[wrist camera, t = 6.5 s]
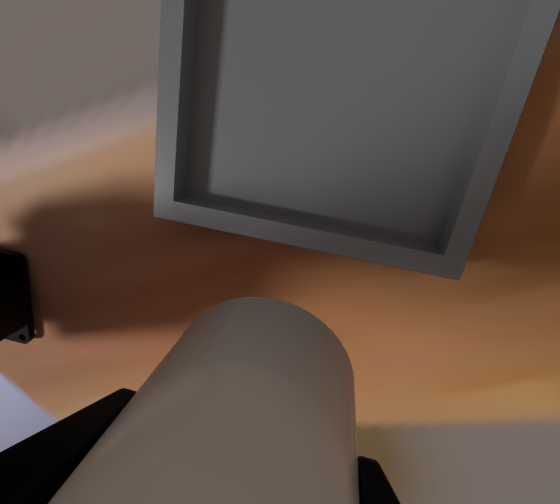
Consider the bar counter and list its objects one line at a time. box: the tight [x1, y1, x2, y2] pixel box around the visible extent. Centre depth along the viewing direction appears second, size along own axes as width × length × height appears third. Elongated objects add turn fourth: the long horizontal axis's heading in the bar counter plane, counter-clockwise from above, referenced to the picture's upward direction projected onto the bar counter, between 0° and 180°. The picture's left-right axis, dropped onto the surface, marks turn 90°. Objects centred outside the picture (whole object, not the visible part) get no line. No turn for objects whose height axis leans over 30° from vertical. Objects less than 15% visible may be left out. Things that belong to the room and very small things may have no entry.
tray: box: [153, 0, 560, 280], centre depth 15 cm, size 15×15×2 cm
